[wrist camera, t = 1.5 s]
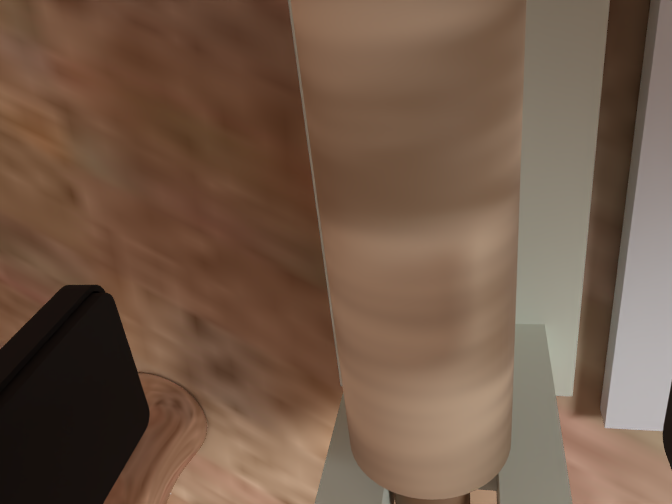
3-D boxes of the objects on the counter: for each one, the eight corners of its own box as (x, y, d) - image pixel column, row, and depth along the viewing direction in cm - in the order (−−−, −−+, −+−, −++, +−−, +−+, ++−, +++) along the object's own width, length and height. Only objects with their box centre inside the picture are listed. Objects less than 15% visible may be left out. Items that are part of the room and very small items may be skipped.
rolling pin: (312, -505, 12) (132, -651, 8) (581, -627, 10) (491, -896, 6) (397, 468, 25) (339, 574, 21) (523, 509, 22) (482, 635, 19)
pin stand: (640, -453, 16) (875, -919, 6) (568, 373, 28) (612, 611, 19) (252, -367, 18) (14, -626, 9) (346, 364, 30) (290, 575, 21)
